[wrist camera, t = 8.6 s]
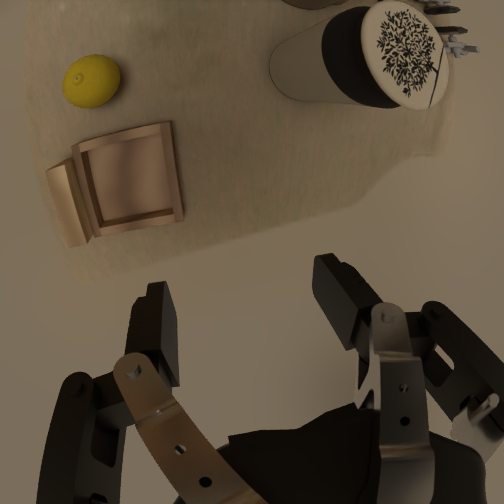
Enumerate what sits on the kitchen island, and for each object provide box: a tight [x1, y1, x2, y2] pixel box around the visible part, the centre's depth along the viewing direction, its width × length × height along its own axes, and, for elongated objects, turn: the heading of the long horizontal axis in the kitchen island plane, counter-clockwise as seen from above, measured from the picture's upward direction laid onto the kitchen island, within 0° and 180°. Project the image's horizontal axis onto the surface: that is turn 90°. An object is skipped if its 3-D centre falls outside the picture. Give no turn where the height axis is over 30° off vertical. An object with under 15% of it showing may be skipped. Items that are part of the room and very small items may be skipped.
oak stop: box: [46, 158, 93, 248], centre depth 25 cm, size 2×9×5 cm, turn 3°
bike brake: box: [379, 0, 480, 58], centre depth 20 cm, size 14×7×20 cm
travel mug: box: [269, 0, 449, 110], centre depth 18 cm, size 8×8×18 cm
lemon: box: [62, 55, 120, 108], centre depth 18 cm, size 6×6×8 cm
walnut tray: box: [71, 121, 184, 237], centre depth 27 cm, size 11×11×3 cm
